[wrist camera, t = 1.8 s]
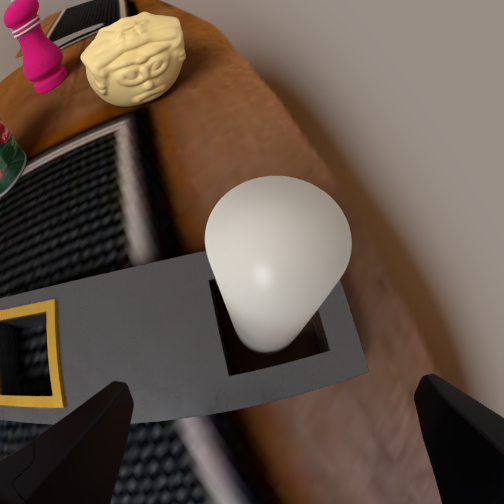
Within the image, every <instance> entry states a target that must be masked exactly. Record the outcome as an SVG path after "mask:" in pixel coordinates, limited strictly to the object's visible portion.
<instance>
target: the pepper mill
mask: <svg viewBox="0 0 504 504" xmlns="http://www.w3.org/2000/svg"><path fill="white" fill-rule="evenodd" d="M10 1H11V2H13V3H12V4H11V5H10V6H9V7H8V8H7V10H6V11H5V13H4V23H5V25H6V27H8V28H12V29H13V31H12V34H14V38H17V39H18V41H19V42H20V45H21V48H22V53H23V71H24V74H25V77H26V79H27V80H29V81H33V82H35V83H34V88H35V90H36V92H37V93H38V94H42V93H45V92H48V91H50V90H52V89H53V88H55V87H56V86H58V85H59V84H60V83H61V82H62V81H63V80H64V79H65V78H66V76H67V71H66V68H65V66H64V65H61V62H62V59H63V54H62V52H61V50H60V49H59V48H58V46H57V45H56V44H54V43H53V42H52V41H51V40H49V39H48V38H47V37H46V36H45V34H44V33H43V31H42V29H41V26H40V22H41V19H40V18H39V17H40V15H37V11H38V8H39V3H38V1H37V0H10Z"/></svg>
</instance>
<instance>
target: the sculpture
mask: <svg viewBox="0 0 504 504" xmlns="http://www.w3.org/2000/svg"><path fill="white" fill-rule="evenodd" d="M185 58H186V54H185V49H184V41H183V32H182V30H181V25H180V21H179V20H178V19H177V18H176V17H169V16H162V15H153V14H150V13H148V12H142V13H140V14H138V15H136V16H132V17H125V18H122V19H120V20H119V21H117V22H115V23H113V24H112V25H110V26H108V27H104V28H102V29H100V30H99V31H98V34H97V36H96V37H95V39H94V40H93V41H92V42H91V44H90V45H89V46H88V47H87V48H86V49H85V51H84V52H83V53H82V55H81V60H82V62H83V63H84V64H85V66H86V73H87V78H88V81H89V83H90V85H91V87H92V88H93V90H94V91H95V92H96V93H97V94H98V95H99V96H100V97H101V98H102V99H103V100H105V101H106V102H108V103H110V104H113V105H116V106H122V107H131V106H137V105H141V104H144V103H147V102H150V101H152V100H154V99H156V98H158V97H159V96H161V95H162V94H164V93H165V92H166V91H167V90H168V89H169V88H170V87H171V86H172V85H173V84H174V82H175V81H176V79H177V77H178V75H179V73H180V70H181V67H182V64H183V61H184V60H185Z"/></svg>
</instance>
